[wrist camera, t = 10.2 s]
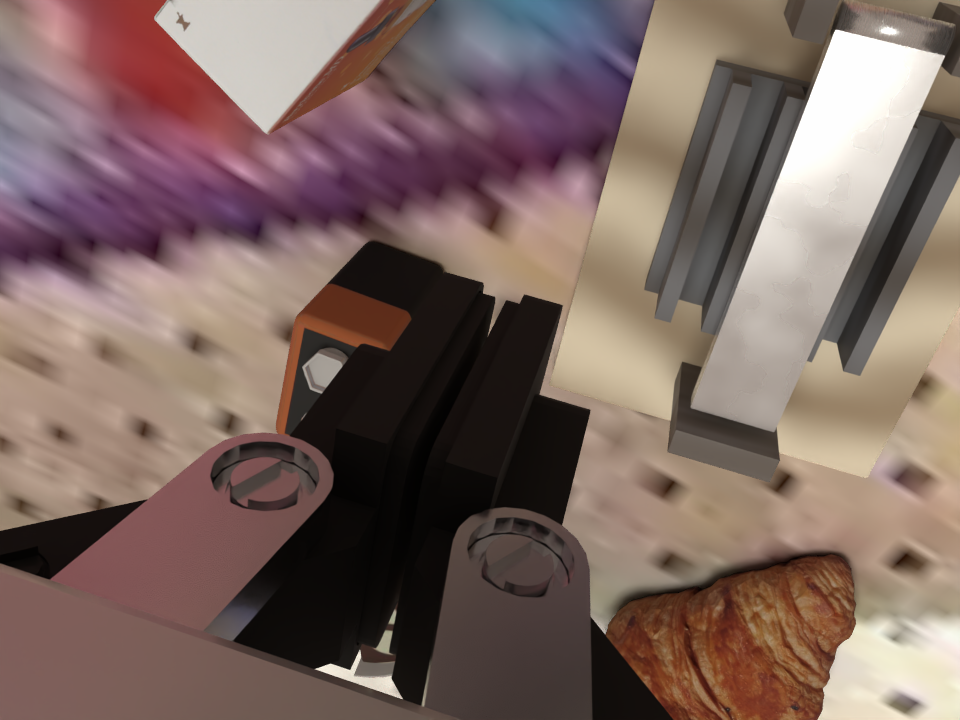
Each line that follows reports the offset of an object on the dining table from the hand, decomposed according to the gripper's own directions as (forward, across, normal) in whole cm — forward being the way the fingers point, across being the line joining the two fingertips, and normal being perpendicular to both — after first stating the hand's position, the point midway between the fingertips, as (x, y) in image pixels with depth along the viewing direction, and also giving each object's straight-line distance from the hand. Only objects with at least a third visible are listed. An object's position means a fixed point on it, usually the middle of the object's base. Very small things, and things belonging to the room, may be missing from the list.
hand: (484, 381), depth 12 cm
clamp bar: (+24, -8, +5) cm, 25 cm away
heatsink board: (+29, -8, +5) cm, 31 cm away
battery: (+29, +9, +16) cm, 35 cm away
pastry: (+30, -13, +33) cm, 46 cm away
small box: (+29, +12, 0) cm, 32 cm away
